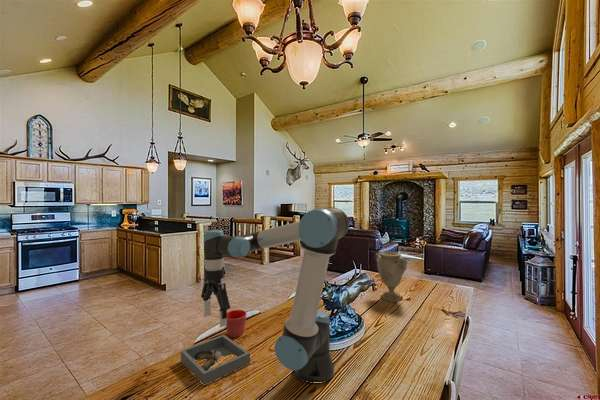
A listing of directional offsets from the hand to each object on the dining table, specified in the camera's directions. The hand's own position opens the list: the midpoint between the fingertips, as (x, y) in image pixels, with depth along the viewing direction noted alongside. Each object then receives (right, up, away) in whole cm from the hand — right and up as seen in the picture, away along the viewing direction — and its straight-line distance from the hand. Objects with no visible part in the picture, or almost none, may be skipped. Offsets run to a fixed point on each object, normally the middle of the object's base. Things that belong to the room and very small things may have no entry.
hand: (215, 320), depth 115 cm
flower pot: (+3, -17, +25) cm, 30 cm away
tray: (0, -17, 0) cm, 17 cm away
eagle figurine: (-2, -17, -2) cm, 17 cm away
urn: (+95, -16, +72) cm, 120 cm away
